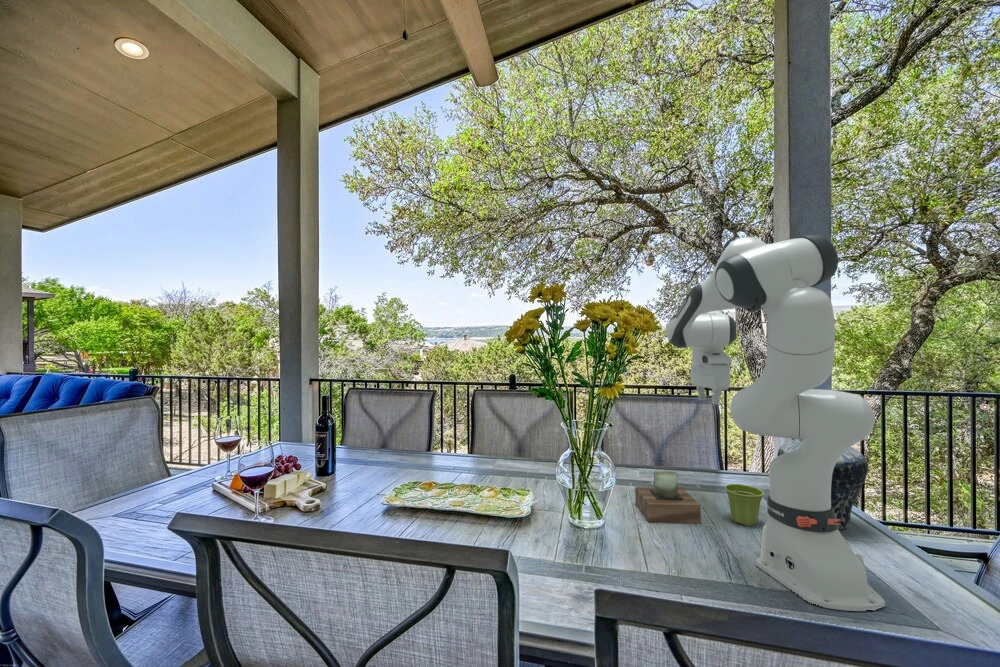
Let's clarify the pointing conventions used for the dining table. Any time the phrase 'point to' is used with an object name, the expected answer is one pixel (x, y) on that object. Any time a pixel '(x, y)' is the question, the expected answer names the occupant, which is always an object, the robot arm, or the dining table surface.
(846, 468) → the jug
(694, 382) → the robot arm
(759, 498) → the plant pot
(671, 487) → the peg
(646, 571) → the dining table surface
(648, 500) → the hole block
